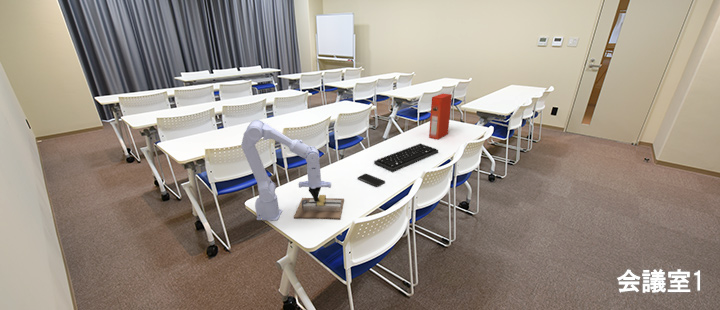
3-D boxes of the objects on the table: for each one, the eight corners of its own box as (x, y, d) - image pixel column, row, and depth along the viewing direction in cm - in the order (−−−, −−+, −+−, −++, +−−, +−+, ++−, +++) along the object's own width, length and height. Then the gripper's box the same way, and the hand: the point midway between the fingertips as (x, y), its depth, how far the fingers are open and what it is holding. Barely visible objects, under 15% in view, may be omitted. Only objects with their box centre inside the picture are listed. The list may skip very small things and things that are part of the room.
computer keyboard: (392, 173, 171) (392, 167, 170) (374, 164, 182) (374, 159, 181) (438, 153, 198) (438, 148, 196) (419, 147, 209) (420, 142, 207)
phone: (377, 186, 154) (356, 177, 163) (376, 188, 155) (356, 179, 164) (386, 181, 159) (365, 173, 169) (386, 183, 160) (365, 174, 169)
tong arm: (309, 207, 136) (308, 201, 135) (310, 204, 138) (309, 199, 136) (341, 207, 135) (340, 202, 134) (341, 205, 137) (341, 200, 136)
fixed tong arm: (300, 211, 133) (300, 204, 132) (303, 205, 137) (302, 199, 136) (340, 211, 132) (339, 205, 131) (341, 206, 136) (341, 200, 135)
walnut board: (293, 218, 130) (293, 216, 129) (302, 199, 144) (302, 197, 144) (340, 219, 128) (340, 217, 128) (344, 200, 143) (344, 198, 143)
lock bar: (317, 205, 131) (316, 202, 130) (319, 198, 137) (319, 194, 136) (323, 205, 131) (323, 202, 130) (326, 198, 136) (325, 194, 136)
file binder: (428, 137, 226) (432, 97, 213) (438, 132, 238) (442, 93, 225) (438, 139, 221) (442, 98, 209) (447, 134, 233) (452, 94, 221)
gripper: (295, 178, 125) (298, 205, 130) (328, 178, 124) (330, 205, 129) (299, 171, 131) (302, 196, 137) (331, 171, 131) (332, 197, 136)
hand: (316, 200), depth 134 cm, fingers closed
